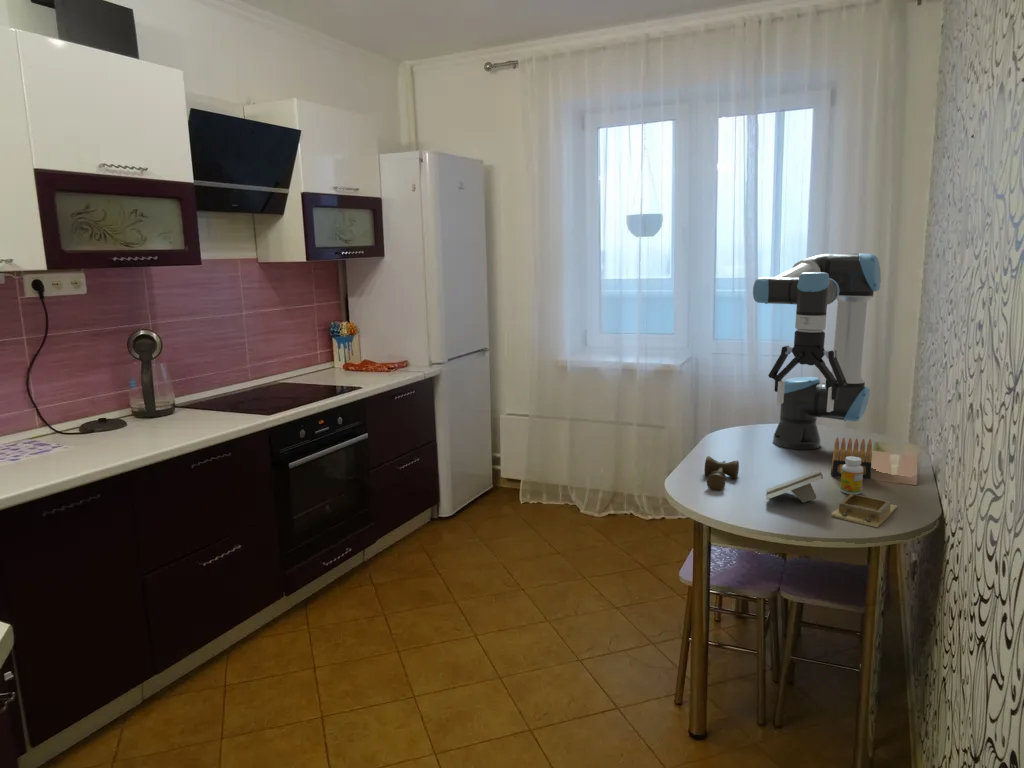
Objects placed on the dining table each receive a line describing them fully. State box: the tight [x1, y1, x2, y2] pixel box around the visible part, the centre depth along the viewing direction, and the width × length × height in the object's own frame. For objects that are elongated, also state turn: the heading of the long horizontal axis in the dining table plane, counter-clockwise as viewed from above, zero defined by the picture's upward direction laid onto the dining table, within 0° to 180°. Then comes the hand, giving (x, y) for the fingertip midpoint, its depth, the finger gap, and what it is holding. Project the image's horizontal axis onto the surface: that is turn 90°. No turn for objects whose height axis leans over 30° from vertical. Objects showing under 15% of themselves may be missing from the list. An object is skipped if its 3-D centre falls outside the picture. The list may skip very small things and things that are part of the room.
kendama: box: [704, 455, 740, 492], centre depth 205 cm, size 6×10×20 cm
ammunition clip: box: [830, 437, 873, 480], centre depth 205 cm, size 11×2×12 cm, turn 74°
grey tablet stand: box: [765, 469, 824, 504], centre depth 187 cm, size 16×9×15 cm
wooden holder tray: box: [830, 493, 898, 528], centre depth 179 cm, size 17×11×3 cm, turn 137°
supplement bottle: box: [839, 456, 863, 495], centre depth 193 cm, size 5×5×10 cm
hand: (804, 407), depth 191 cm, fingers open, 13 cm apart
